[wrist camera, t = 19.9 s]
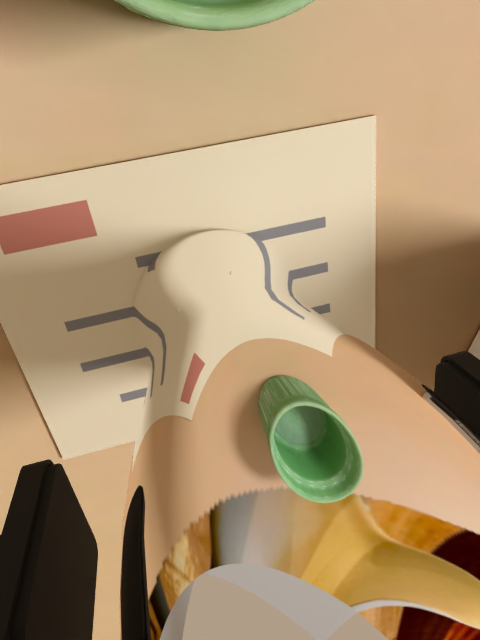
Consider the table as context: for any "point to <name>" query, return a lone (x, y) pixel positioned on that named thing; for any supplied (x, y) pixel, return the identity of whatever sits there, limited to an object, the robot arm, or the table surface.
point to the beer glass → (287, 469)
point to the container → (475, 346)
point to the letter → (156, 235)
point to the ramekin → (215, 12)
